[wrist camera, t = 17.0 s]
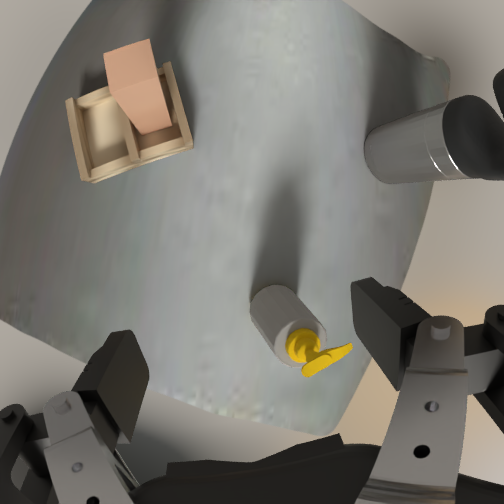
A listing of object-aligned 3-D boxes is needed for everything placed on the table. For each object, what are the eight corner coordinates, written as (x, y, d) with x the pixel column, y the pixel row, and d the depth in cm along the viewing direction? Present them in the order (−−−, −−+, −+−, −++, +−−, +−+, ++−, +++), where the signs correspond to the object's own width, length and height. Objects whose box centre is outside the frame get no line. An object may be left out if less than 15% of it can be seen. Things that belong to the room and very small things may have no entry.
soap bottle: (303, 314, 44) (362, 373, 27) (260, 337, 44) (297, 409, 26) (285, 273, 43) (341, 315, 26) (239, 296, 42) (268, 354, 25)
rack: (172, 76, 37) (170, 61, 32) (193, 148, 39) (192, 140, 34) (78, 111, 35) (65, 100, 30) (94, 183, 37) (81, 180, 32)
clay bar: (165, 99, 36) (149, 38, 20) (172, 126, 36) (158, 76, 21) (135, 108, 35) (103, 54, 20) (142, 135, 36) (109, 92, 20)
